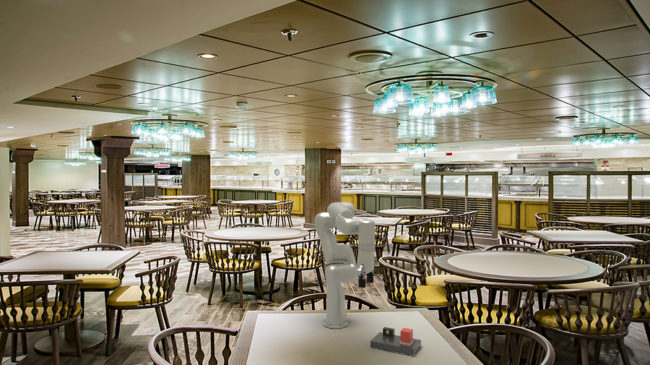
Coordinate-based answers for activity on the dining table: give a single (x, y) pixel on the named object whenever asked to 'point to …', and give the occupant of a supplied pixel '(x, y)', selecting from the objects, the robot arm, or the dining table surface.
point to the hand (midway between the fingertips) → (366, 285)
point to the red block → (406, 335)
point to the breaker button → (407, 343)
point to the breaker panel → (393, 342)
